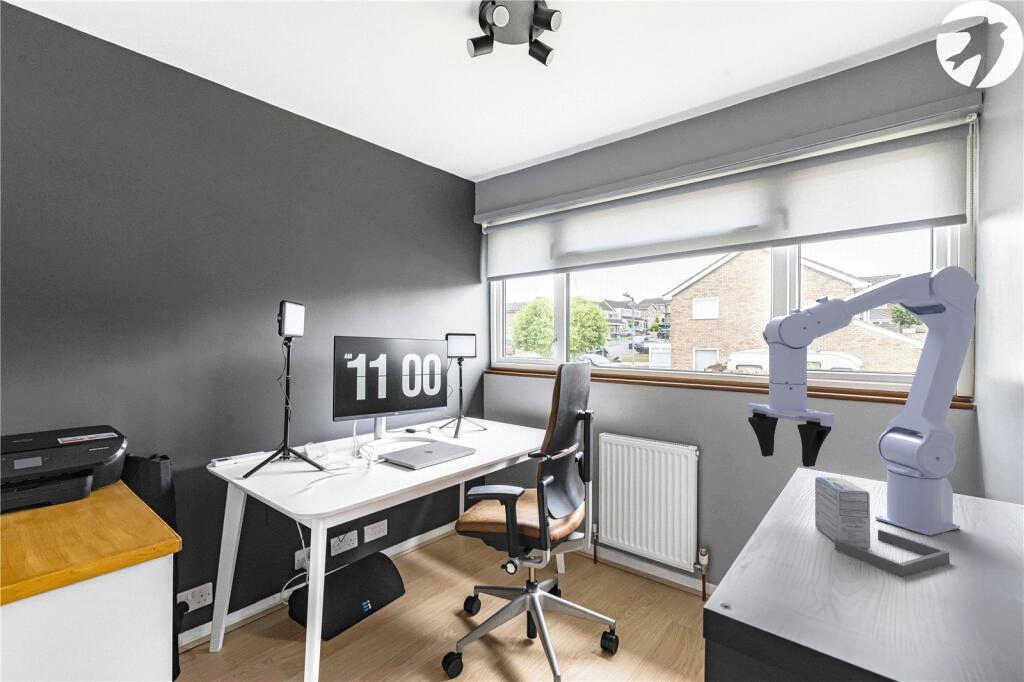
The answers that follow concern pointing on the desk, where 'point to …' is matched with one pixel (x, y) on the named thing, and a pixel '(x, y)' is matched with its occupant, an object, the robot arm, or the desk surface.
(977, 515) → the desk surface
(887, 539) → the dock
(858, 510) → the medicine box
